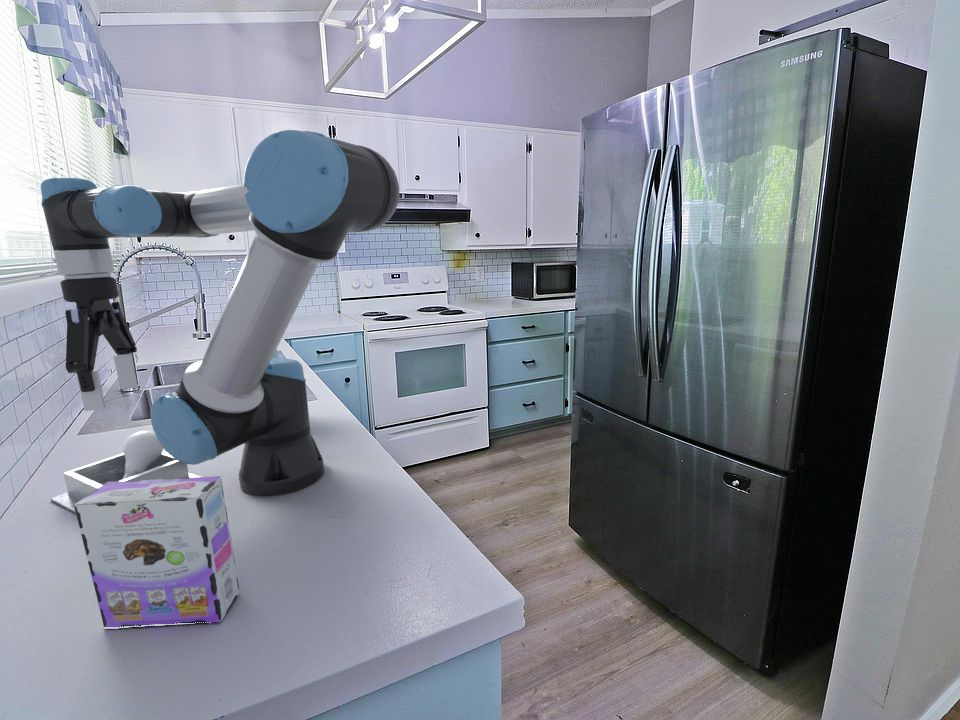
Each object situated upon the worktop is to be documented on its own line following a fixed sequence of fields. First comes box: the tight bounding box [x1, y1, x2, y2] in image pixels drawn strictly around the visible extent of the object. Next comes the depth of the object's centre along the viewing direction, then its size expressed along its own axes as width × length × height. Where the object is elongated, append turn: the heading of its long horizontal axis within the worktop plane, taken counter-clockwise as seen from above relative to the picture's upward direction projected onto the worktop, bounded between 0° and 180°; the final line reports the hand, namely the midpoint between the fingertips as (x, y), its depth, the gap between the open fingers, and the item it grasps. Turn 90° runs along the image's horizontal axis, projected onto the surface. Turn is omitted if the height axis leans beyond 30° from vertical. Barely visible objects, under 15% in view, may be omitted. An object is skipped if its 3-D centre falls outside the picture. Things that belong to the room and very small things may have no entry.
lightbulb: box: [122, 429, 164, 480], centre depth 95 cm, size 6×6×11 cm
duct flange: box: [50, 450, 201, 515], centre depth 94 cm, size 18×18×5 cm
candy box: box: [74, 475, 241, 628], centre depth 61 cm, size 14×6×16 cm, turn 92°
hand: (113, 398), depth 90 cm, fingers open, 13 cm apart
